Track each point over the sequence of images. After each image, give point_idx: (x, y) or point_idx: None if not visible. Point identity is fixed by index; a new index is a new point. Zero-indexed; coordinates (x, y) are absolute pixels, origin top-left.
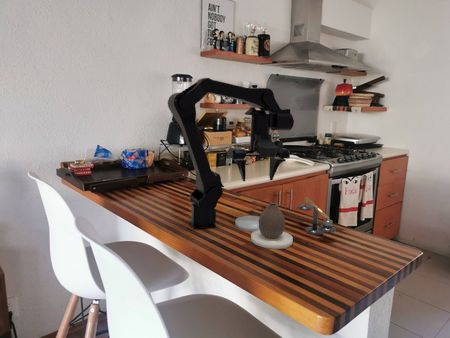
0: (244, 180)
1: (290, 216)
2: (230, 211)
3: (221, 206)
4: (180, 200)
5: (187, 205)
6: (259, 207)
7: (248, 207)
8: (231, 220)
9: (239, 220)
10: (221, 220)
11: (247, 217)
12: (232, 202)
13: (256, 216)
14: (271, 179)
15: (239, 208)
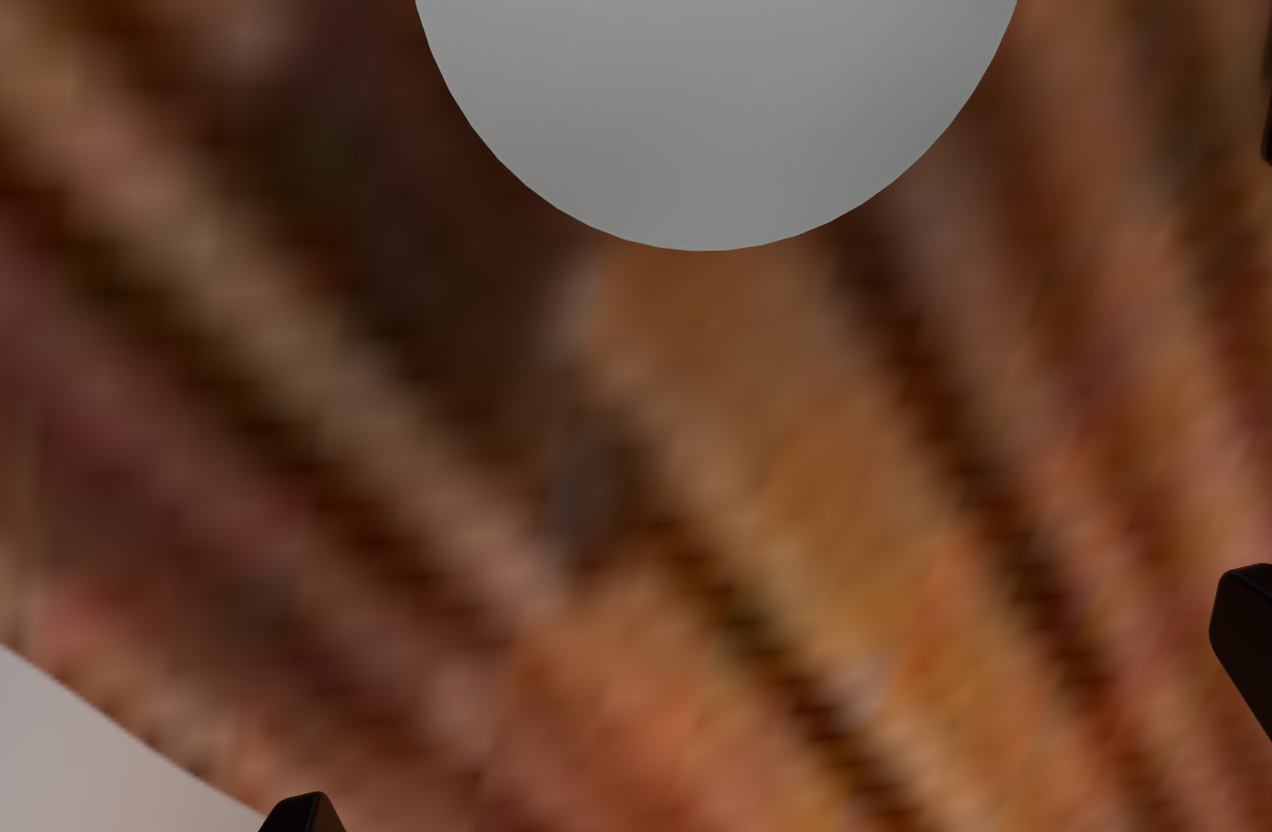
0: (1269, 571)
1: (10, 383)
2: (866, 541)
3: (911, 696)
4: (1246, 814)
5: None
6: (451, 710)
7: (597, 696)
8: (975, 188)
9: (953, 10)
10: (1105, 189)
11: (780, 165)
12: (744, 829)
13: (622, 216)
14: (307, 808)
15: (721, 653)
